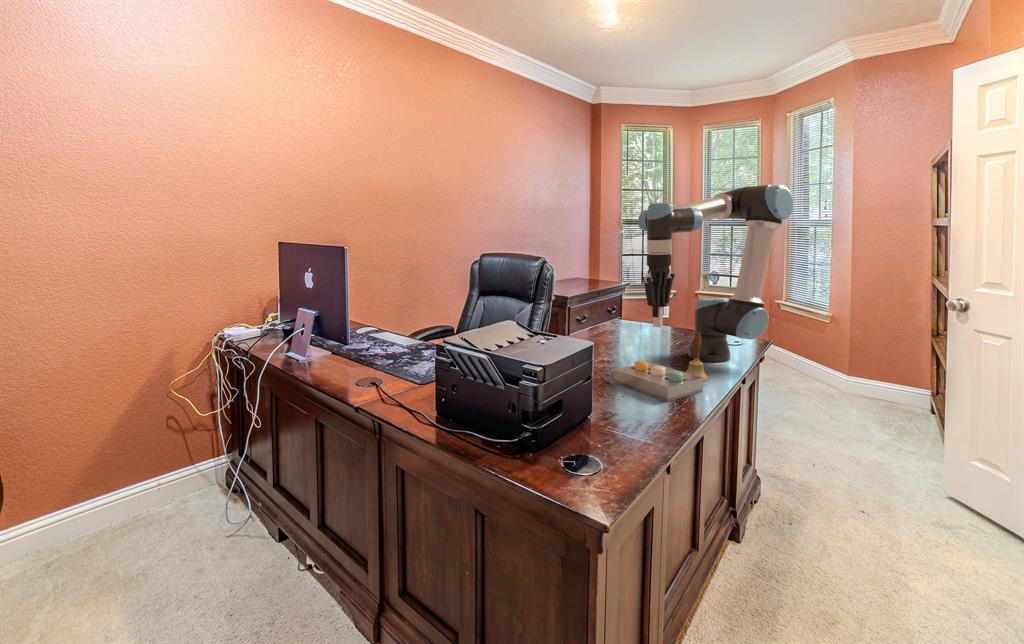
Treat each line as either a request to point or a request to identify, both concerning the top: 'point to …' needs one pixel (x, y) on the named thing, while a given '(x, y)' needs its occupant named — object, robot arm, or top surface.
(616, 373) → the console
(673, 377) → the teal button
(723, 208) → the robot arm
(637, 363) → the amber button
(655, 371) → the ivory button
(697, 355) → the hand bell
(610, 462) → the top surface
